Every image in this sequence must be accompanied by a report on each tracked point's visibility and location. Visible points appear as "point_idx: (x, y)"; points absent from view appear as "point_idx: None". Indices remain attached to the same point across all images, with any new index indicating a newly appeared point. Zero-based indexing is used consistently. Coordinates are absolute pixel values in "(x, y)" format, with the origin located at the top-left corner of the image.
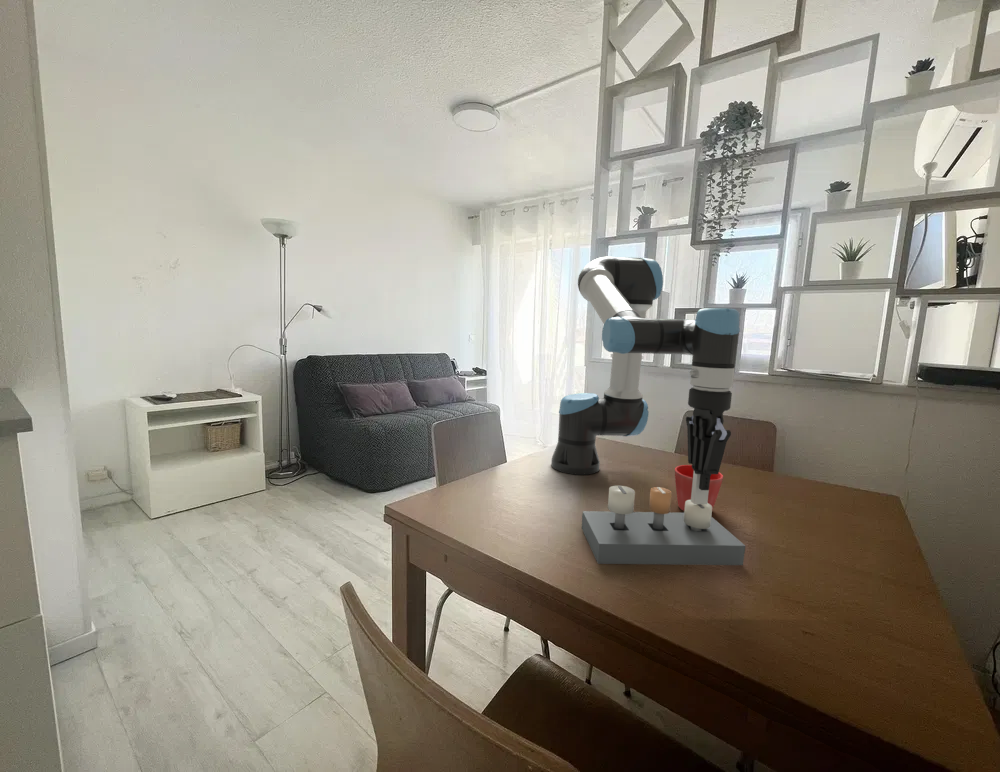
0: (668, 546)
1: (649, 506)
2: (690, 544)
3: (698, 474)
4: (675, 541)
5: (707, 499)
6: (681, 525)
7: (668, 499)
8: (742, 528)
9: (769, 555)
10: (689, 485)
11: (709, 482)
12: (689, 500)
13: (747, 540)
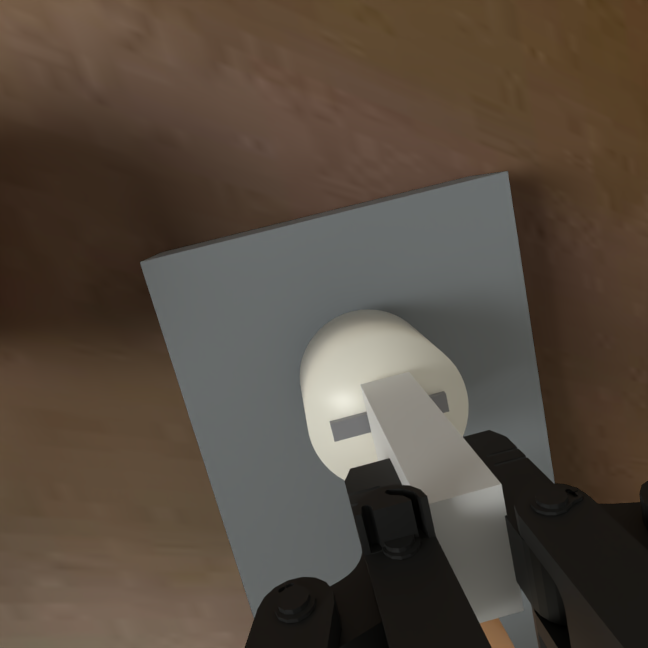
0: None
1: None
2: (540, 424)
3: (518, 590)
4: None
5: (417, 384)
6: None
7: (504, 633)
8: (66, 35)
9: (351, 9)
10: None
11: (532, 463)
12: (334, 459)
13: (216, 63)
